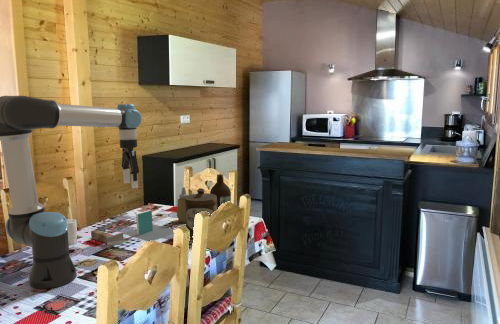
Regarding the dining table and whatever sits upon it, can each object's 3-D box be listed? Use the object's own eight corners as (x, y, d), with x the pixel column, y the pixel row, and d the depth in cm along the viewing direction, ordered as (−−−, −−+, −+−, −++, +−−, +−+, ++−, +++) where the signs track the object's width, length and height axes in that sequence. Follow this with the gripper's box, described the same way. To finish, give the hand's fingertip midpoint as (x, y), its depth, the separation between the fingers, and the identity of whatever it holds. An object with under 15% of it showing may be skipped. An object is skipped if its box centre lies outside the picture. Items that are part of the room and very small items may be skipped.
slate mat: (150, 242, 186) (149, 241, 186) (122, 234, 198) (122, 233, 197) (179, 232, 200) (179, 231, 200) (152, 225, 212) (152, 224, 212)
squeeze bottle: (175, 220, 219) (173, 186, 217) (190, 218, 223) (189, 185, 220) (179, 224, 212) (178, 189, 209) (194, 222, 215) (193, 188, 213)
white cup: (55, 244, 185) (53, 222, 184) (70, 239, 192) (68, 218, 191) (67, 247, 182) (65, 224, 180) (82, 241, 189) (80, 220, 187)
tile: (139, 235, 195) (138, 214, 193) (137, 234, 196) (135, 213, 194) (152, 230, 201) (151, 210, 199) (150, 230, 202) (149, 209, 200)
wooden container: (183, 239, 189) (181, 192, 186) (189, 229, 204) (188, 185, 201) (216, 239, 189) (215, 192, 185) (220, 229, 203) (218, 185, 200)
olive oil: (206, 222, 215) (205, 174, 211) (222, 218, 222) (221, 172, 218) (219, 227, 207) (218, 177, 203) (235, 222, 214) (234, 174, 210)
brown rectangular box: (86, 241, 189) (85, 230, 189) (101, 236, 196) (100, 226, 195) (108, 248, 179) (107, 237, 179) (123, 243, 186) (123, 232, 185)
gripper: (144, 140, 178) (147, 189, 181) (129, 136, 199) (131, 180, 203) (127, 141, 174) (129, 191, 178) (113, 137, 196) (115, 181, 199)
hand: (130, 185), depth 190 cm, fingers open, 13 cm apart
